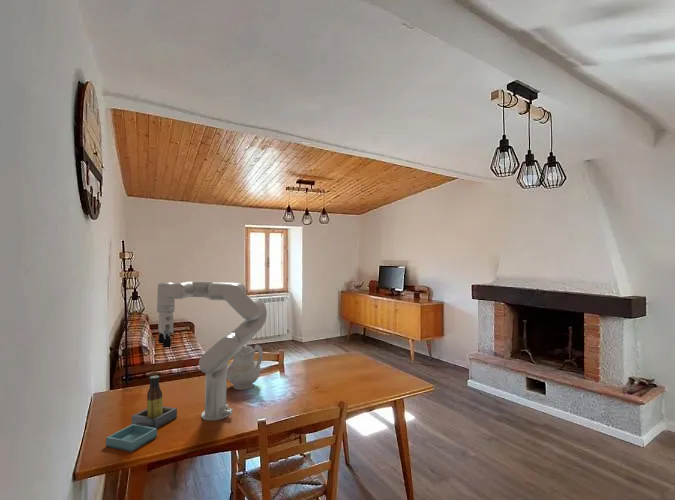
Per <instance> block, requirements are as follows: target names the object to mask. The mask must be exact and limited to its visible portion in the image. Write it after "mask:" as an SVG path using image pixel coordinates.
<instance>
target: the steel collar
mask: <svg viewBox="0 0 675 500" xmlns="http://www.w3.org/2000/svg"><path fill="white" fill-rule="evenodd" d="M177 418H178V409H177V407H171V406H164V405H163V414H162V415H160V416H158V417H156V418H152V417H147V408H145V409H142V410H140V411H138V412H136V413H135V414H132V415H131V422H130V423H131V424H130V425H132V424H136V425H141V426H147V427H152V428H157V429H159V428H160V427H162V426H165V425H166V424H168V423H169V422H171V421H173V420H175V419H177ZM167 422H168V423H167Z"/></svg>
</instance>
